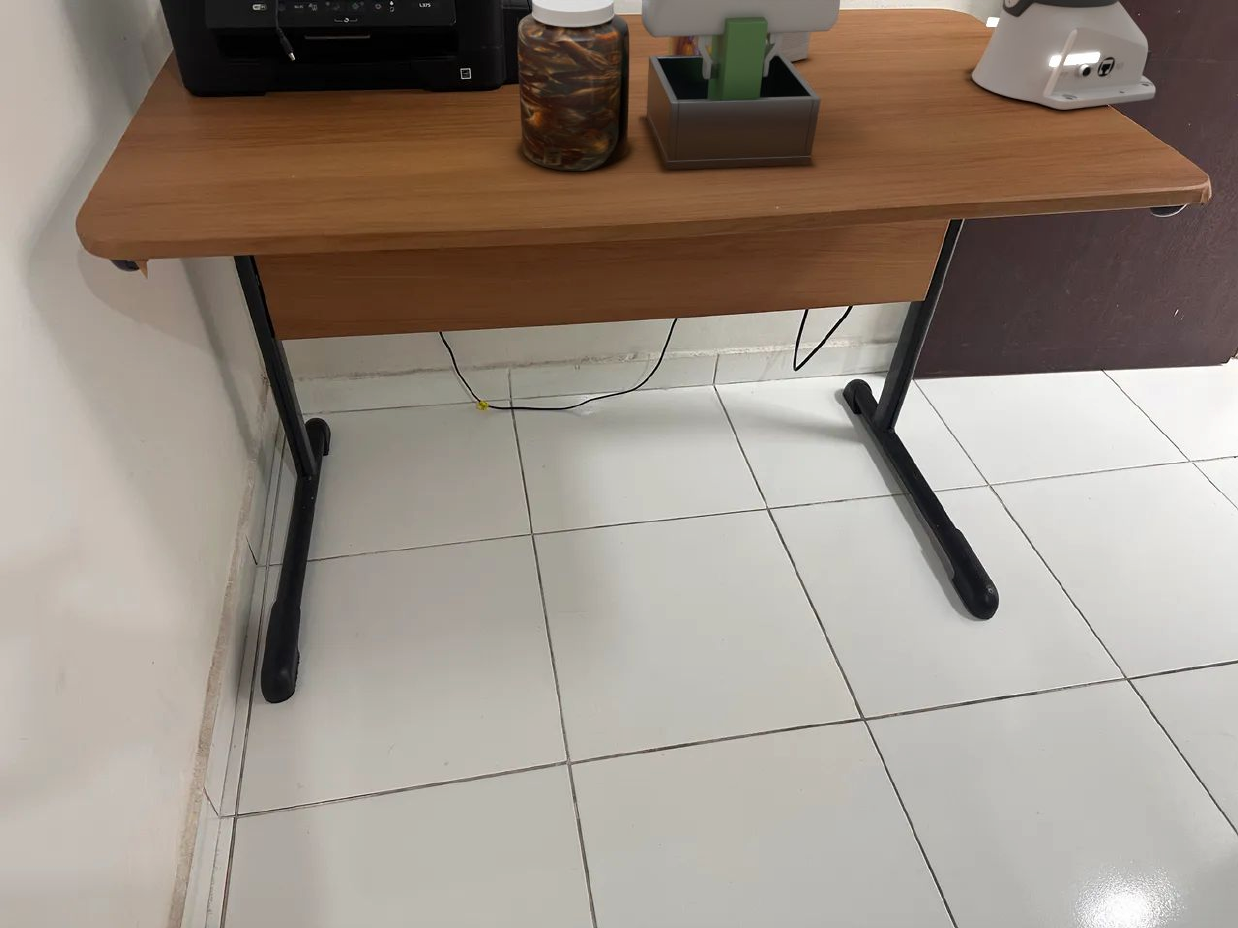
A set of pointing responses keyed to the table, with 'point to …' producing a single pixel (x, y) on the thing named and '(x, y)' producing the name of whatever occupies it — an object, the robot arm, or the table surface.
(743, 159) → the open box
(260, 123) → the table surface
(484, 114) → the table surface
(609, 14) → the jar
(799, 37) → the cosmetic box
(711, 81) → the block
